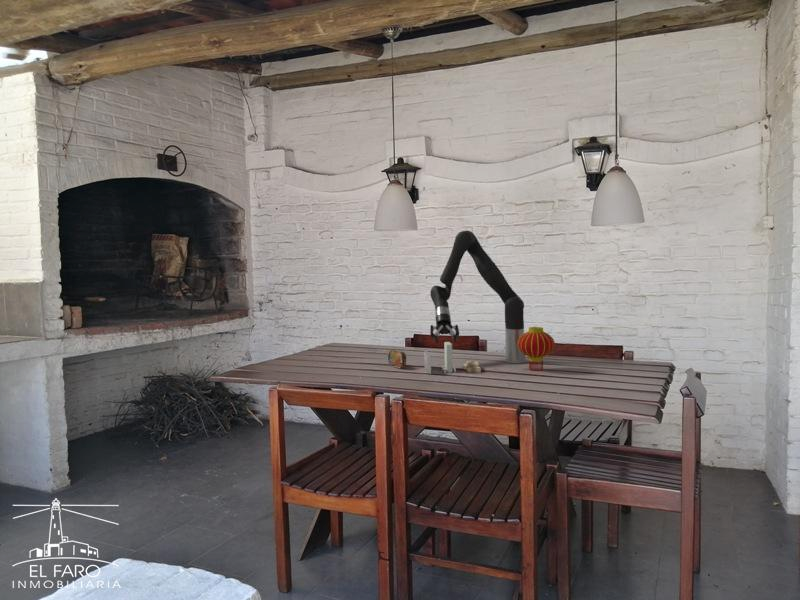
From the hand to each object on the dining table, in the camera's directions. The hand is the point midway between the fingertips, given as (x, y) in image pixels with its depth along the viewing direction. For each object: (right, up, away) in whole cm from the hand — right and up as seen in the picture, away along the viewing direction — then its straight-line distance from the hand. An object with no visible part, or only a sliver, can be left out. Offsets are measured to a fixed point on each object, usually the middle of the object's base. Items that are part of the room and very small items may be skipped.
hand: (445, 342), depth 299 cm
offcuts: (+12, -13, -8) cm, 19 cm away
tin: (-24, -12, +2) cm, 27 cm away
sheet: (+1, -13, -9) cm, 15 cm away
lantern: (+42, -12, -12) cm, 45 cm away
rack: (-3, -13, -9) cm, 16 cm away
